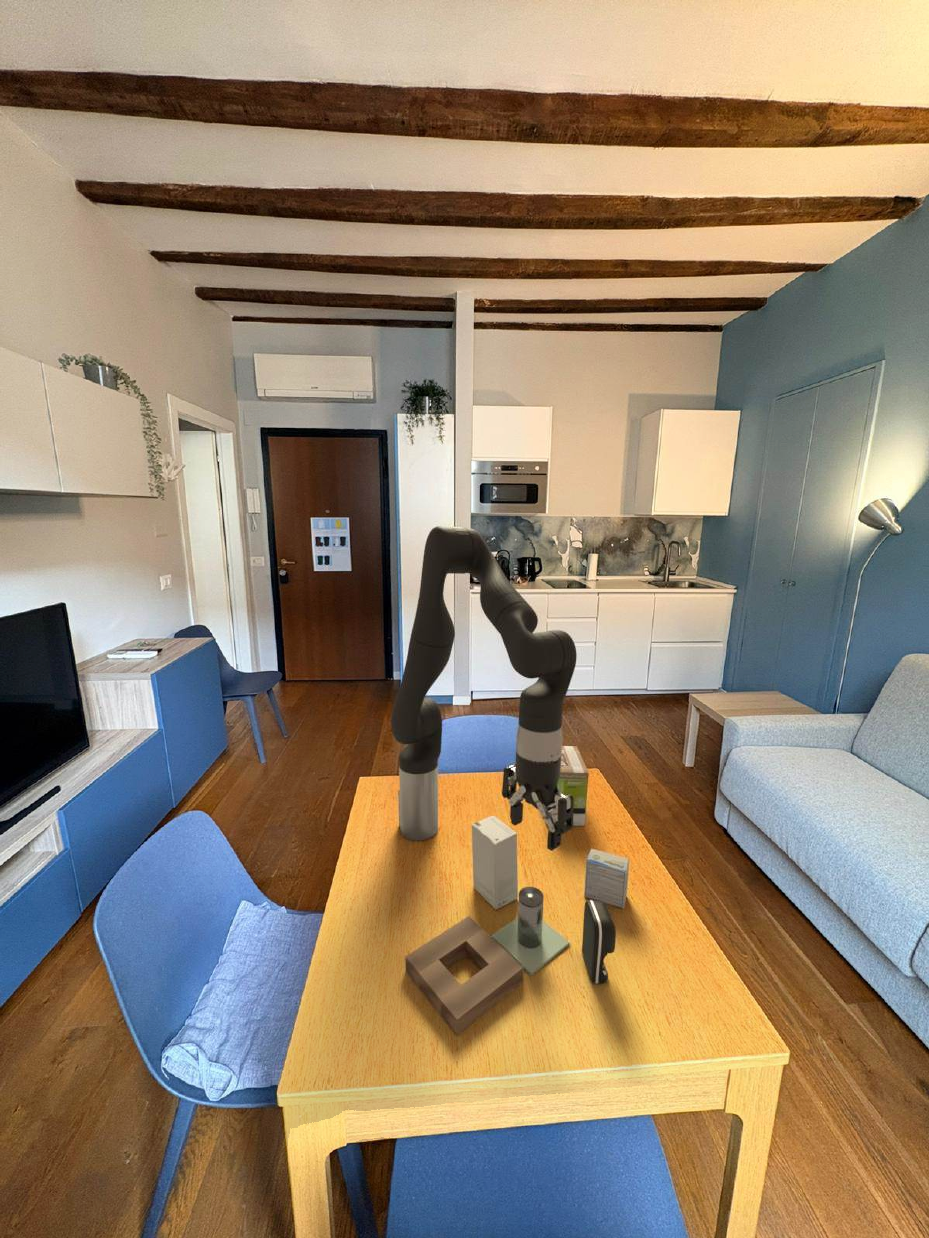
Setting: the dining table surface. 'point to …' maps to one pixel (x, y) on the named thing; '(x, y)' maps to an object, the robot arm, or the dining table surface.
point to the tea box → (573, 782)
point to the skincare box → (495, 861)
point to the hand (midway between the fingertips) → (534, 835)
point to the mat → (530, 956)
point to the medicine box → (606, 878)
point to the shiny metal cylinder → (530, 917)
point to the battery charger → (597, 939)
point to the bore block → (476, 993)
